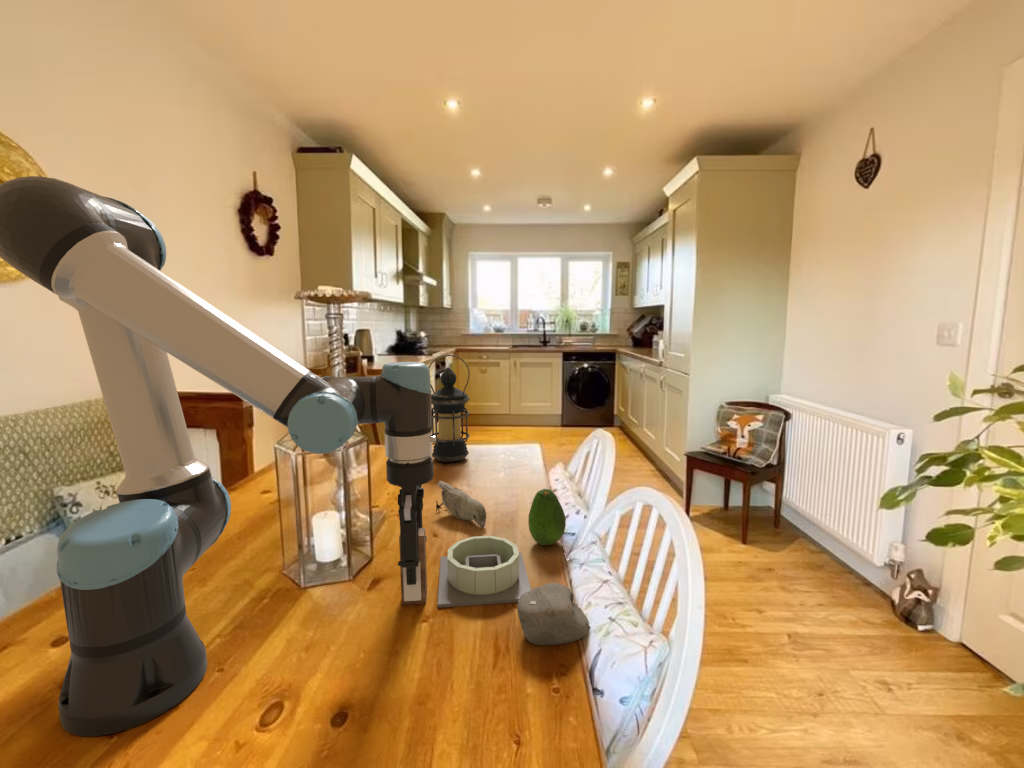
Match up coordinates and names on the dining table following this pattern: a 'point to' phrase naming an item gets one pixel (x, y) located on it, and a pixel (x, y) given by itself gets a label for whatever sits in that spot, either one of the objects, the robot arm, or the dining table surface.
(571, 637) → the stone
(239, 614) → the dining table surface
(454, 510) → the decorative bird
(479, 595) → the square base green ring
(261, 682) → the dining table surface
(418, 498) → the robot arm
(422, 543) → the wooden rectangular beam
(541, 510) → the fruit
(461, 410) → the lantern
